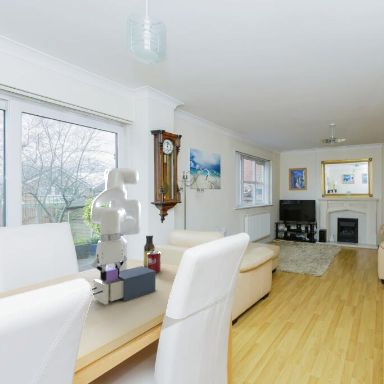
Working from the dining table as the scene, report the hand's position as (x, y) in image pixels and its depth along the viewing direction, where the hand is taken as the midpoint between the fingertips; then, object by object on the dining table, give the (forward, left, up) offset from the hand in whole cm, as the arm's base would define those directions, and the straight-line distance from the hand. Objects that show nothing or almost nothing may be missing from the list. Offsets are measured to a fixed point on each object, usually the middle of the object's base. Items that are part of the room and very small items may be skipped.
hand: (110, 278), depth 113 cm
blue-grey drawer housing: (0, +11, -9) cm, 14 cm away
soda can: (-18, +32, -10) cm, 38 cm away
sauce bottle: (-30, +36, -10) cm, 48 cm away
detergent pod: (0, 0, 0) cm, 0 cm away
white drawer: (0, 0, -9) cm, 9 cm away
